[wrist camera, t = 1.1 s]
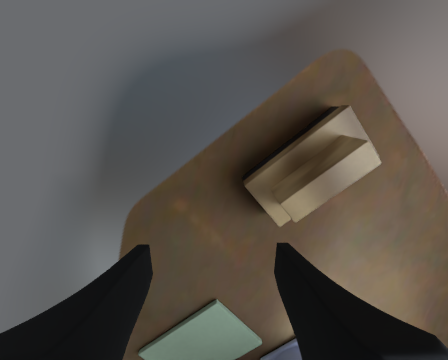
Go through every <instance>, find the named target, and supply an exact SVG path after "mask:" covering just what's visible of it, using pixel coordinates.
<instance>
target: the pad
mask: <svg viewBox="0 0 448 360" xmlns="http://www.w3.org/2000/svg"><path fill="white" fill-rule="evenodd" d="M261 344H262V339H261V338H260V337H258V336H257V335H256V334H255V333H254V332H253V331H252V330H251V329H250V328H248V327H247V326H246V325H245V324H244V323H243V322H242V321H241V320H239V319H238V318H237V317H236V316H235V315H234V314H233V313H232V312H231V311H229V310H228V309H227V308H226V307H225V306H224V305H223V304H222V303H221V302H219V301H218V300H217V299H216V300H215V301H213V302H212V303H210V304H209V305H207V306H205V307H204V308H202V309H201V310H199V311H198V312H196V313H195V314H193V315H192V316H190V317H189V318H187V319H186V320H184V321H183V322H181V323H180V324H178V325H177V326H175V327H174V328H172V329H171V330H169V331H168V332H166V333H165V334H163V335H162V336H160V337H159V338H157V339H156V340H154V341H153V342H151V343H150V344H148V345H147V346H145V347H144V348H142V349H140V350H139V353H138V355H139V356H140V357H142V358H143V359H145V360H235V359H237V358H239V357H241V356H242V355H244V354H246V353H247V352H249V351H251V350H253V349H254V348H256V347H258V346H259V345H261Z"/></svg>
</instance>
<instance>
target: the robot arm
mask: <svg viewBox="0 0 448 360" xmlns="http://www.w3.org/2000/svg"><path fill="white" fill-rule="evenodd" d="M274 274H275V278H276V283H277V286H278V290H279V293H280V296H281V298H282V301H283V304H284V307H285V309H286V312H287V315H288V317H289V320H290V323H291V325H292V328H293V331H294V334H295V337H296V338H295V339H294V340H292V341H290V342H288V343H287V344H285V345H283V346H281V347H280V348H278V349H276V350H274V351H273V352H271V353H269V354H267V355H265V356H264V357H262V358H260V360H448V348H447V347H446V346H445V345H444V344H443V343H442V342H441V341H440V340H439V339H438V338H437V337H436V336H435V335H433V334H430V333H428V332H426V331H424V330H421V329H419V328H417V327H414V326H412V325H410V324H408V323H405V322H403V321H401V320H399V319H397V318H395V317H393V316H391V315H389V314H387V313H385V312H383V311H381V310H379V309H377V308H375V307H374V306H372V305H370V304H368V303H367V302H365V301H363V300H361V299H360V298H358V297H356V296H355V295H353V294H351V293H350V292H348V291H347V290H345V289H344V288H342V287H341V286H339V285H338V284H336V283H335V282H334V281H332V280H331V279H330V278H328V277H327V276H326V275H324V274H323V273H322V272H321V271H319V270H318V269H317V268H316V267H314V266H313V265H312V264H311V263H310V262H309V261H307V260H306V259H305V258H304V257H303V256H302V255H301V254H300V253H299V252H297V251H296V250H295V249H294V248H293V247H292V246H291V245H290V244H289V243H277V248H276V258H275V268H274ZM152 276H153V271H152V263H151V255H150V248H149V245H137V246H136V247H135V248H133V249H132V250H131V251H130V252H129V253H128V254H126V255H125V256H124V257H123V258H122V259H120V260H119V261H118V262H117V263H116V264H114V265H113V266H112V267H111V268H110V269H108V270H107V271H106V272H104V273H103V274H102V275H100V276H99V277H98V278H97V279H95V280H94V281H92V282H91V283H90V284H88V285H87V286H86V287H84V288H83V289H81V290H80V291H78V292H77V293H75V294H73V295H72V296H70V297H69V298H67V299H65V300H64V301H62V302H60V303H59V304H57V305H55V306H53V307H52V308H50V309H48V310H47V311H45V312H43V313H41V314H39V315H37V316H35V317H34V318H32V319H29V320H28V321H26V322H24V323H21V324H19V325H17V326H15V327H13V328H11V329H9V330H7V331H5V332H3V333H0V360H122V359H123V356H124V353H125V350H126V346H127V344H128V341H129V338H130V335H131V333H132V330H133V328H134V326H135V323H136V321H137V318H138V316H139V313H140V311H141V308H142V306H143V304H144V301H145V299H146V296H147V293H148V290H149V287H150V283H151V280H152Z"/></svg>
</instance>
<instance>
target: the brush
mask: <svg viewBox="0 0 448 360" xmlns="http://www.w3.org/2000/svg"><path fill="white" fill-rule="evenodd" d="M379 158H380V156H379V155H378V153H377V151H376V149H375V148H374V146H373V144H372V143H371V141H370V139H369V137H368V136H367V134H366V132H365V131H364V129H363V127H362V126H361V124H360V122H359V120H358V119H357V117H356V115H355V114H354V112H353V110H352V108H351V107H350V106H349V105H346V106H340V107H331V108H330V109H329V110H327V111H326V112H325V113H323V114H322V115H321V116H320V117H318V118H317V119H316V120H314V121H313V122H312V123H311V124H309V125H308V126H307V127H305V128H304V129H303V130H302V131H300V132H299V133H298V134H296V135H295V136H294V137H293V138H291V139H290V140H289V141H287V142H286V143H285V144H284V145H282V146H281V147H280V148H278V149H277V150H276V151H275V152H273V153H272V154H271V155H269V156H268V157H267V158H266V159H264V160H263V161H262V162H260V163H259V164H258V165H256V166H255V167H254V168H253V169H251V170H250V171H249V172H247V173H246V174H245V175H244V176H242V179H243V183H244V186H245V187H246V188H247V190H248V191H249V192H250V193H251V194H252V196H253V197H254V198H255V199H256V200H257V201H258V203H259V204H260V205H261V206H262V207H263V208H264V210H265V211H266V212H267V213H268V214H269V216H270V217H271V218H272V219H273V220H274V221H275V223H276V224H277V225H278V226H279V227H281V226H282V225H283V224H285V223H286V222H288V221H289V220H291V219H292V220H293V221H294V222H295V223H296V222H297V221H299V220H300V219H302V218H303V217H305V216H306V215H307V214H309V213H310V212H312V211H313V210H315V209H316V208H318V207H319V206H321V205H322V204H323V203H325V202H326V201H328V200H329V199H331V198H332V197H334V196H335V195H337V194H338V193H340V192H341V191H342V190H344V189H345V188H347V187H348V186H350V185H351V184H353V183H354V182H356V181H357V180H358V179H360V178H361V177H363V176H364V175H366V174H367V173H369V172H370V171H372V170H373V169H374V168H376V167H377V166H379V165H380V164H382V163H381V161H380V159H379Z"/></svg>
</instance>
